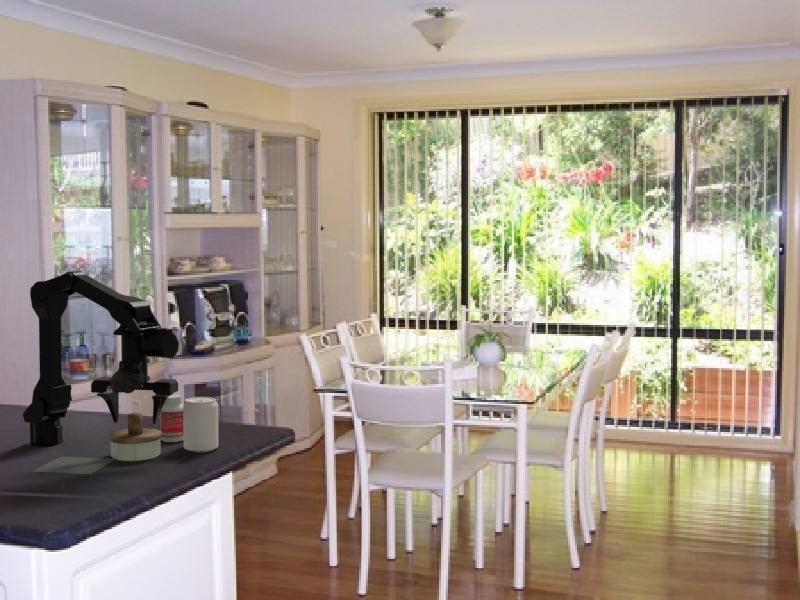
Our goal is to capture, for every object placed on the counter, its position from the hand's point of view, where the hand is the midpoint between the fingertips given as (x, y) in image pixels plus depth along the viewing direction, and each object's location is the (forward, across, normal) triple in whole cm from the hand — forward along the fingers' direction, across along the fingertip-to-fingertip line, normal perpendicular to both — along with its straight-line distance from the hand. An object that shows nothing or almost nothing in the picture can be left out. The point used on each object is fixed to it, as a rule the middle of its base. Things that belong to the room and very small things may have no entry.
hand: (135, 423), depth 214 cm
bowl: (+8, 0, 0) cm, 8 cm away
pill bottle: (+8, +2, +18) cm, 20 cm away
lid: (+3, 0, 0) cm, 3 cm away
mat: (+8, -10, -10) cm, 16 cm away
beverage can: (+8, +12, +10) cm, 18 cm away
